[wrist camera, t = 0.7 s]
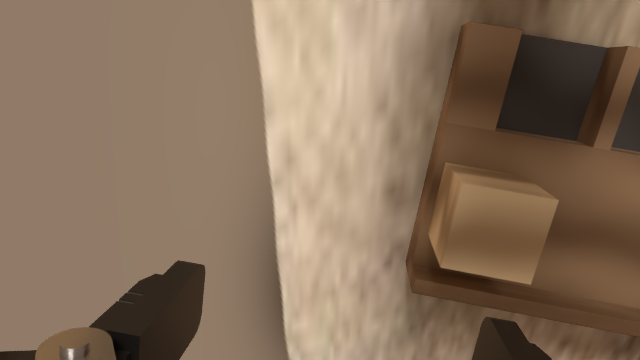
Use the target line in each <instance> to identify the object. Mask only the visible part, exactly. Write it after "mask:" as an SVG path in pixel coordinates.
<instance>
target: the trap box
mask: <svg viewBox="0 0 640 360" xmlns="http://www.w3.org/2000/svg"><path fill="white" fill-rule="evenodd" d="M522 31H523V30H521V29H515V28H508V27H502V26H495V25H489V24H482V23H476V22H470V23H467V24H465V25H462V27H461V31H460V36H459V40H458V44H457V48H456V52H455V57H454V61H453V65H452V69H451V73H450V78H449V82H448V86H447V90H446V95H445V99H444V103H443V107H442V111H441V116H440V120H439V124H438V128H437V132H436V137H435V141H434V145H433V149H432V154H431V158H430V162H429V166H428V170H427V175H426V179H425V183H424V187H423V192H422V196H421V200H420V204H419V208H418V213H417V217H416V221H415V225H414V229H413V234H412V238H411V242H410V246H409V251H408V255H407V259H406V265H407V270H408V274H409V279H410V284H411V289H412V293H417V294H422V295H427V296H432V297H437V298H442V299H447V300H453V301H458V302H463V303H468V304H473V305H478V306H483V307H489V308H494V309H499V310H504V311H509V312H514V313H519V314H525V315H530V316H535V317H540V318H545V319H550V320H555V321H561V322H566V323H571V324H576V325H581V326H586V327H591V328H597V329H602V330H607V331H612V332H617V333H622V334H627V335H633V336H638V337H640V48H637V47H630V46H625V47H612V48H605V47H598V46H592V45H585V44H579V43H573V42H566V41H560V40H554V39H547V38H541V37H534V36H528V35H522ZM445 162H447V163H452V164H458V165H464V166H469V167H475V168H481V169H487V170H492V171H498V172H504V173H509V174H515V175H521V176H525V177H526V178H527V179H529V180H530V181H532V182H533V183H535V184H536V185H538V186H539V187H541V188H542V189H543V190H545V191H546V192H548V193H549V194H551V195H552V196H554V197H555V198H557V199H558V200H559V202H558V205H557V208H556V211H555V214H554V217H553V220H552V223H551V226H550V229H549V232H548V235H547V238H546V241H545V244H544V247H543V250H542V253H541V256H540V259H539V262H538V265H537V268H536V271H535V274H534V277H533V280H532V283H531V285H530V284H524V283H519V282H514V281H509V280H503V279H498V278H493V277H487V276H482V275H477V274H472V273H466V272H461V271H456V270H451V269H445V268H441V267H440V265H439V262H438V260H437V257H436V254H435V252H434V249H433V246H432V244H431V241H430V238H429V236H428V230H429V226H430V222H431V218H432V214H433V210H434V206H435V202H436V198H437V194H438V190H439V186H440V182H441V178H442V174H443V170H444V166H445Z"/></svg>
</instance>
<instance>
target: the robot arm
mask: <svg viewBox="0 0 640 360" xmlns="http://www.w3.org/2000/svg"><path fill="white" fill-rule="evenodd" d="M204 282H205V267H204V265H201V264H196V263H190V262H185V261H177V262H176V263H174V264H173V265H172V266H171V267H170V268H169V269H168V270H167V272H165V273H164V274H163V275H159V274H154V275H152V276H150V277H147V278H145V279H143V280H141V281H139V282H138V283H137V284H135V285H134V286H133V287H132V288H131V289H130V290H129V291H128V293H126V294H124V296H122V297H121V298H120V299H119V302H118V301H117V302H116V303H115V304H114V305H113V306H111V307H110V308H109V309H108V310H107V311H106V312H105V313H103V314H102V315H101V316H100V317H99V318H98V319H97V320H96V321H95V322H94V323H93V324H92V325H91V326H89V327H82V328H73V329H69V330H65V331H62V332H59V333H57V334H54V335H53V336H51V337H49V338H48V339H46V340H45V341H44V342H43V343H41V345H40V346H39V347H38V349H37V350H32V351H6V352H5V351H4V352H0V360H179V359H180V357H181V356H182V355H183V353H184V351H185V350H186V348H187V347H188V345H189V343H190V342H191V340H192V339H193V338H194V336H195V334H196V332H197V330H198V326H199V324H200V319H201V314H202V304H203V292H204ZM472 360H552V359H551V358H550V357H549V356H548V355H547V354H546V353H544V352H543V351H542V350H541V349H540V348H539V347H537V346H536V345H535V344H532V343H529V342H528V340H527V339H526V337H525V336H524V334H523V333H522V331H521V329H520V328H519V326H518V325H517V324H516V323H515V322H512V321H507V320H501V319H496V318H490V317H486V318H485V319H484V320H483V322H482V325H481V328H480V332H479V336H478V339H477V343H476V347H475V350H474V354H473V357H472Z"/></svg>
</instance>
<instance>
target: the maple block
mask: <svg viewBox="0 0 640 360" xmlns="http://www.w3.org/2000/svg"><path fill="white" fill-rule="evenodd" d="M558 202H559V200H558V199H557V198H555V197H554V196H552V195H551V194H549V193H548V192H546V191H545V190H543V189H542V188H541V187H539V186H538V185H536V184H535V183H533V182H532V181H530V180H529V179H527V178H526V177H525V176H521V175H515V174H509V173H504V172H498V171H492V170H487V169H481V168H475V167H469V166H464V165H458V164H452V163H447V162H445V166H444V170H443V174H442V178H441V182H440V186H439V190H438V194H437V198H436V202H435V206H434V210H433V214H432V218H431V222H430V226H429V230H428V236H429V238H430V241H431V244H432V246H433V249H434V252H435V254H436V257H437V260H438V262H439V265H440V267H441V268H445V269H451V270H456V271H461V272H466V273H472V274H477V275H482V276H487V277H493V278H498V279H503V280H509V281H514V282H519V283H524V284H530V285H531V283H532V280H533V277H534V274H535V271H536V268H537V265H538V262H539V259H540V256H541V253H542V250H543V247H544V244H545V241H546V238H547V235H548V232H549V229H550V226H551V223H552V220H553V217H554V214H555V211H556V208H557V205H558Z"/></svg>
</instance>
